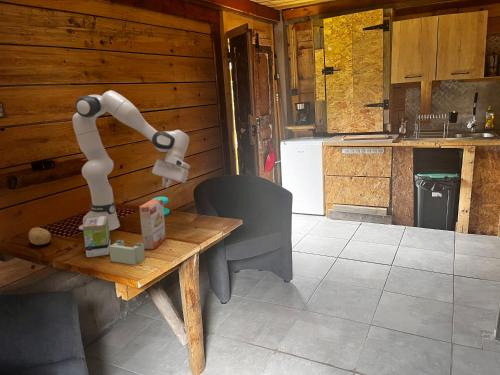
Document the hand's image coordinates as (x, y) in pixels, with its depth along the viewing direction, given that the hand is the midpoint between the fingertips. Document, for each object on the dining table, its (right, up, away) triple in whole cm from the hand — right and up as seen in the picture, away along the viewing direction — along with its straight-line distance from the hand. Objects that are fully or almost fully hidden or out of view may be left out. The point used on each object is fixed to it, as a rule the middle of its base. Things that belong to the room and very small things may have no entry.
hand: (165, 186), depth 200 cm
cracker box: (-2, -28, -11) cm, 30 cm away
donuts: (-10, -17, +37) cm, 42 cm away
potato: (-61, -29, -5) cm, 67 cm away
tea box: (-28, -30, -16) cm, 44 cm away
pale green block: (-10, -32, -29) cm, 44 cm away
